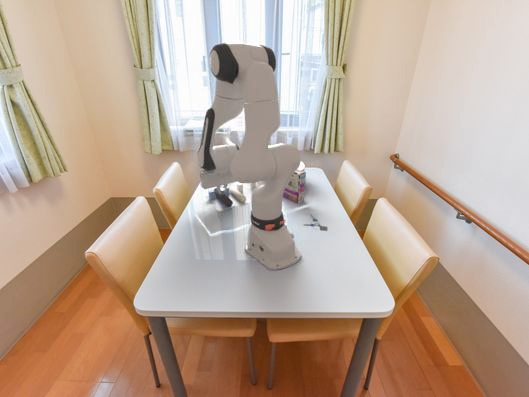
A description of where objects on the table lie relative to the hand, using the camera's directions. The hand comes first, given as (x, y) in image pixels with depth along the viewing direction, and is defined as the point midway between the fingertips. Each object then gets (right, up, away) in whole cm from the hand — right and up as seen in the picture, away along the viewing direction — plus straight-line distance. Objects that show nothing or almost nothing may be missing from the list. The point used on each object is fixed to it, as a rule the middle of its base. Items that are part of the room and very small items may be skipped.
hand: (222, 192), depth 131 cm
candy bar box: (+36, -4, +6) cm, 36 cm away
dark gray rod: (0, -4, +2) cm, 5 cm away
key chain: (+42, -15, -14) cm, 47 cm away
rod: (+7, -2, +6) cm, 9 cm away
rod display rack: (+7, -3, +7) cm, 10 cm away
